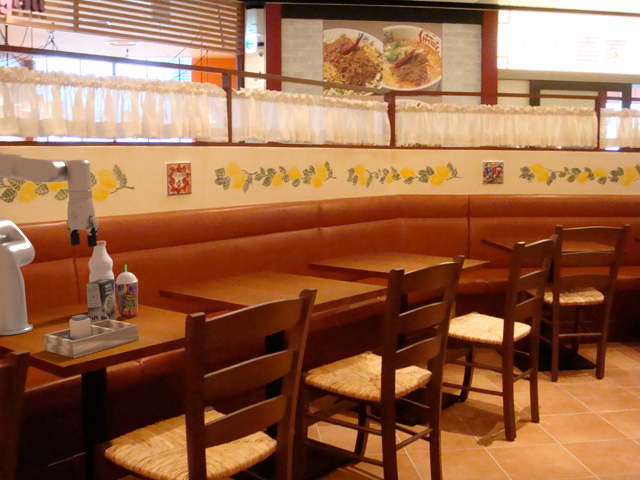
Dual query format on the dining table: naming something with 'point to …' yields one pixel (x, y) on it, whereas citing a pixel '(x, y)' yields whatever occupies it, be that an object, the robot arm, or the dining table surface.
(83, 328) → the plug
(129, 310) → the smoothie
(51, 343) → the caddy
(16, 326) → the robot arm
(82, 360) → the dining table surface
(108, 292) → the coffee box
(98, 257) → the white milk bottle
